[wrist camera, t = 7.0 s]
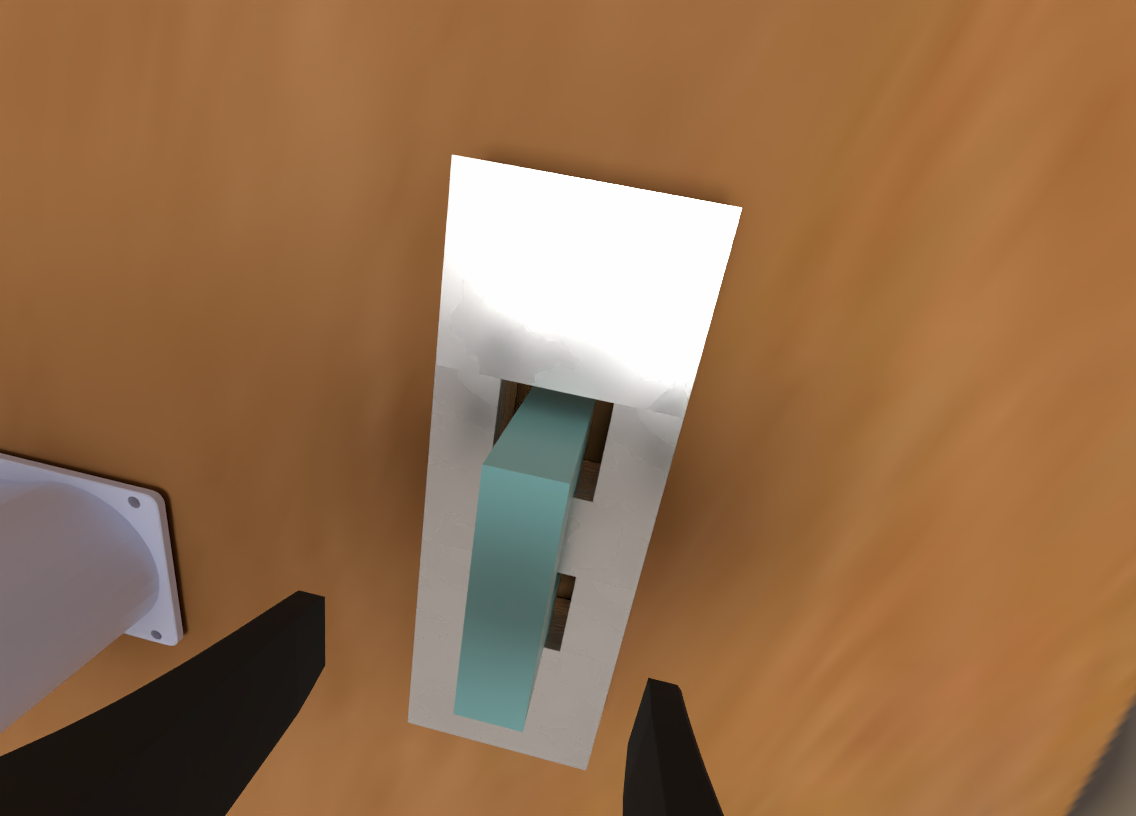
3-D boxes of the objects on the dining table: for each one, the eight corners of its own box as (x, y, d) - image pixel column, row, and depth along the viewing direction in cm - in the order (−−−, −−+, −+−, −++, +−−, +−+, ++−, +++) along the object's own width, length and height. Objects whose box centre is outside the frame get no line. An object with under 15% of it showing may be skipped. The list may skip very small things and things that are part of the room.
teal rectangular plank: (507, 574, 21) (453, 714, 15) (537, 379, 17) (481, 464, 12) (559, 587, 20) (523, 732, 15) (597, 392, 17) (570, 483, 12)
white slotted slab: (432, 669, 23) (407, 722, 21) (482, 161, 15) (451, 154, 13) (593, 711, 22) (586, 770, 20) (729, 205, 15) (741, 207, 12)
